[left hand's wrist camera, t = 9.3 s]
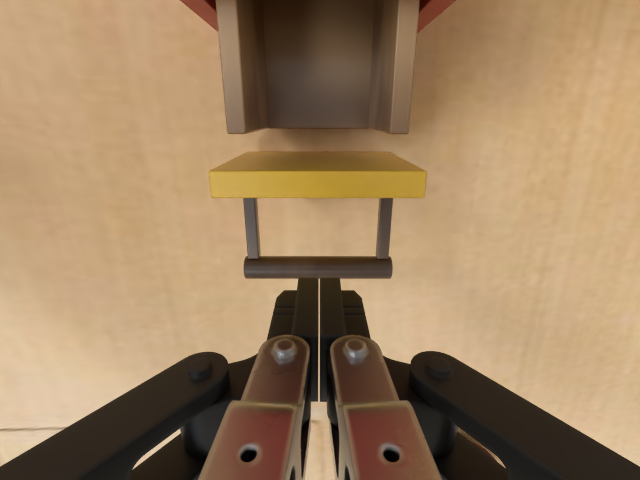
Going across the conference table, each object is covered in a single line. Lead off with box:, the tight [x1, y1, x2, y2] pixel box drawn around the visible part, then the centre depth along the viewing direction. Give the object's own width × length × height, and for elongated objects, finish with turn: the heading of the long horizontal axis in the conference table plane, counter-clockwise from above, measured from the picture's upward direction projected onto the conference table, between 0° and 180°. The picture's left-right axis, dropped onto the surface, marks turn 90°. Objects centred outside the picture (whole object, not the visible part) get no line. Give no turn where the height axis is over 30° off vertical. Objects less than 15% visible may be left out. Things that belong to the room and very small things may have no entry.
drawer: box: [209, 0, 427, 279], centre depth 17 cm, size 22×9×8 cm, turn 0°
